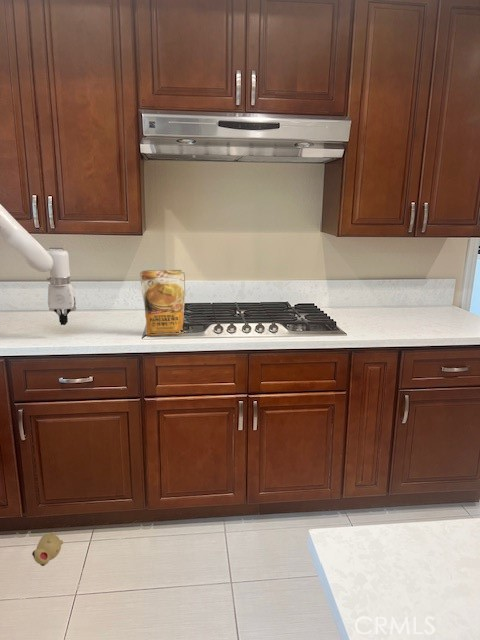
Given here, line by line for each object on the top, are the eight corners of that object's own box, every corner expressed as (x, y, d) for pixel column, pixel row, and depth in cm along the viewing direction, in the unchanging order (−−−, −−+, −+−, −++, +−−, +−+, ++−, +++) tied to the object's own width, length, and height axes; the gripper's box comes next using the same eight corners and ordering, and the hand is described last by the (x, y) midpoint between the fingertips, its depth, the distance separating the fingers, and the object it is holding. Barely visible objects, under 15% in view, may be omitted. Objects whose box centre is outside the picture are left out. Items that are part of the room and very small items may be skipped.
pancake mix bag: (142, 332, 205) (139, 269, 198) (185, 330, 209) (184, 268, 201) (142, 337, 199) (139, 272, 191) (187, 335, 202) (186, 271, 195)
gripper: (38, 282, 185) (42, 326, 190) (76, 282, 187) (79, 326, 191) (44, 279, 193) (48, 321, 197) (81, 279, 194) (84, 322, 198)
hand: (63, 324), depth 194 cm, fingers closed
